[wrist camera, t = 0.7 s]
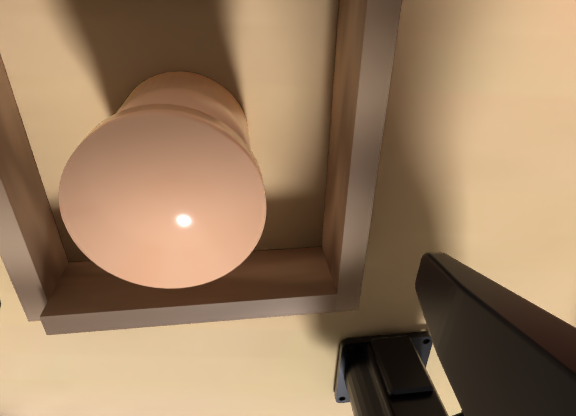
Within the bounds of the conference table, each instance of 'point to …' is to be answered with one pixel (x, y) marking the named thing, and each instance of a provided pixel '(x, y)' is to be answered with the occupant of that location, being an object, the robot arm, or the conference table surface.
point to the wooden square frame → (259, 264)
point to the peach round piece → (167, 185)
